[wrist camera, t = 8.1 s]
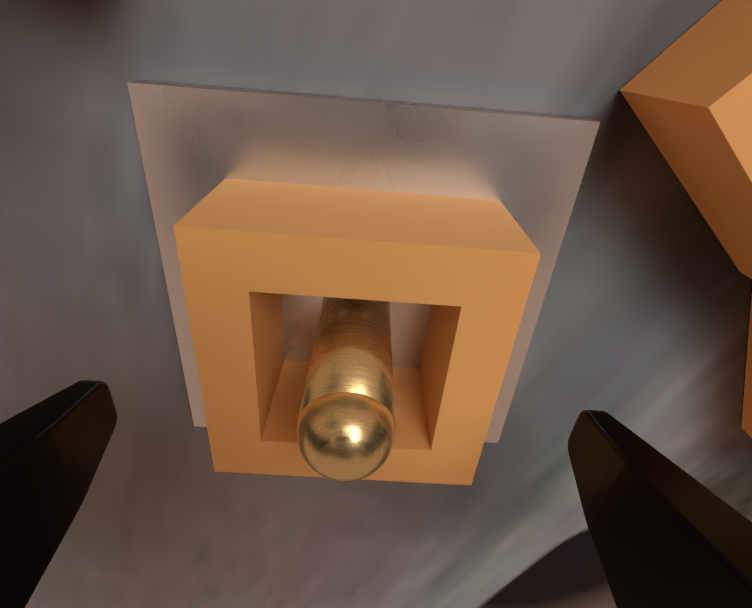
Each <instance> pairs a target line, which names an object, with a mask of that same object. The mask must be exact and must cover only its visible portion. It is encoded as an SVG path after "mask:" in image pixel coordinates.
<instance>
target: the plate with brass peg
mask: <svg viewBox="0 0 752 608" xmlns="http://www.w3.org/2000/svg"><path fill="white" fill-rule="evenodd" d="M127 84H128V89H129V94H130V99H131V105H132V110H133V115H134V120H135V125H136V130H137V135H138V141H139V146H140V151H141V156H142V161H143V166H144V171H145V176H146V182H147V187H148V192H149V197H150V202H151V207H152V212H153V218H154V223H155V228H156V233H157V238H158V243H159V248H160V253H161V259H162V264H163V269H164V274H165V279H166V284H167V289H168V295H169V300H170V305H171V310H172V315H173V320H174V325H175V330H176V336H177V341H178V346H179V351H180V356H181V361H182V366H183V372H184V377H185V382H186V387H187V392H188V397H189V402H190V408H191V413H192V418H193V423H194V426H198V427H207V424H206V418H205V412H204V406H203V400H202V394H201V388H200V382H199V376H198V370H197V364H196V359H195V353H194V347H193V341H192V335H191V329H190V323H189V317H188V311H187V305H186V299H185V293H184V287H183V281H182V275H181V269H180V263H179V257H178V251H177V245H176V239H175V233H174V227H173V225H174V224H175V223H177V222H178V221H179V220H180V219H181V218H182V217H183V216H184V215H185V214H187V213H188V212H189V211H190V210H191V209H192V208H193V207H194V206H196V205H197V204H198V203H199V202H200V201H201V200H202V199H203V198H204V197H206V196H207V195H208V194H209V193H210V192H211V191H212V190H213V189H214V188H216V187H217V186H218V185H219V184H220V183H221V182H222V181H223V180H224V179H238V180H250V181H263V182H275V183H288V184H300V185H312V186H325V187H337V188H350V189H362V190H375V191H387V192H400V193H412V194H424V195H437V196H449V197H462V198H474V199H487V200H499V201H501V203H502V204H503V205H504V206H505V208H506V209H507V210H508V212H509V213H510V214H511V215H512V217H513V218H514V219H515V221H516V222H517V223H518V224H519V226H520V227H521V228H522V230H523V231H524V232H525V233H526V235H527V236H528V237H529V239H530V240H531V241H532V242H533V244H534V245H535V246H536V248H537V249H538V250H539V251H540V253H541V255H540V259H539V262H538V265H537V269H536V272H535V275H534V279H533V282H532V285H531V289H530V292H529V295H528V299H527V302H526V305H525V308H524V312H523V315H522V318H521V322H520V325H519V328H518V332H517V335H516V338H515V342H514V345H513V348H512V352H511V355H510V358H509V362H508V365H507V368H506V372H505V375H504V378H503V382H502V385H501V388H500V392H499V395H498V398H497V402H496V405H495V408H494V411H493V415H492V418H491V421H490V425H489V428H488V431H487V435H486V438H485V441H484V442H491V443H498V442H499V439H500V436H501V432H502V429H503V426H504V423H505V420H506V417H507V414H508V410H509V407H510V404H511V401H512V398H513V395H514V392H515V388H516V385H517V382H518V379H519V376H520V373H521V370H522V367H523V363H524V360H525V357H526V354H527V351H528V348H529V345H530V341H531V338H532V335H533V332H534V329H535V326H536V323H537V319H538V316H539V313H540V310H541V307H542V304H543V301H544V298H545V294H546V291H547V288H548V285H549V282H550V279H551V276H552V272H553V269H554V266H555V263H556V260H557V257H558V254H559V250H560V247H561V244H562V241H563V238H564V235H565V232H566V229H567V225H568V222H569V219H570V216H571V213H572V210H573V207H574V203H575V200H576V197H577V194H578V191H579V188H580V185H581V181H582V178H583V175H584V172H585V169H586V166H587V163H588V160H589V156H590V153H591V150H592V147H593V144H594V141H595V138H596V134H597V131H598V128H599V125H600V122H599V121H596V120H593V119H591V118H585V117H573V116H561V115H549V114H537V113H525V112H513V111H501V110H490V109H478V108H466V107H454V106H442V105H430V104H418V103H406V102H394V101H382V100H371V99H359V98H347V97H335V96H323V95H311V94H299V93H287V92H275V91H264V90H252V89H240V88H228V87H216V86H204V85H192V84H180V83H168V82H156V81H145V80H139V81H132V82H127ZM430 308H431V304H418V303H404V302H390V301H376V300H361V299H347V298H333V297H319V296H305V295H290V294H282V310H283V338H284V360H289V361H305V362H310V364H309V369H308V374H307V379H306V383H305V388H304V393H303V398H302V403H301V407H300V412H299V417H298V422H297V441H298V446H299V449H300V451H301V454H302V456H303V458H304V459H305V461H306V462H307V463H308V465H309V466H310V467H311V468H312V469H313V470H314V471H315V472H317V473H318V474H320V475H321V476H323V477H325V478H327V479H330V480H333V481H338V482H352V481H357V480H360V479H363V478H366V477H368V476H369V475H371V474H373V473H374V472H375V471H377V470H378V469H379V468H380V467H381V466H382V465H383V464H384V462H385V461H386V459H387V458H388V456H389V455H390V452H391V450H392V448H393V444H394V440H395V430H396V425H395V405H394V384H393V367H398V368H414V369H420V367H421V361H422V355H423V349H424V343H425V337H426V332H427V326H428V320H429V314H430Z"/></svg>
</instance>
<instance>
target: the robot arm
mask: <svg viewBox="0 0 752 608" xmlns="http://www.w3.org/2000/svg"><path fill="white" fill-rule="evenodd" d="M116 422H117V412H116V409H115V406H114V403H113V399H112V396H111V393H110V390H109V387H108V385H107V384H106V383H105V382H102V381H89V380H83V381H79V382H77V383H75V384H73V385H71V386H69V387H67V388H65V389H64V390H62V391H60V392H58V393H56V394H54V395H52V396H51V397H49V398H47V399H45V400H43V401H41V402H39V403H38V404H36V405H34V406H32V407H30V408H28V409H26V410H25V411H23V412H21V413H19V414H17V415H15V416H13V417H12V418H10V419H8V420H6V421H4V422H2V423H1V424H0V608H25V606H26V604H27V603H28V601H29V599H30V597H31V595H32V594H33V592H34V590H35V588H36V586H37V585H38V583H39V581H40V579H41V577H42V576H43V574H44V572H45V570H46V568H47V566H48V565H49V563H50V561H51V559H52V557H53V556H54V554H55V552H56V550H57V548H58V547H59V545H60V543H61V541H62V539H63V538H64V536H65V534H66V532H67V530H68V528H69V527H70V525H71V523H72V521H73V519H74V518H75V516H76V514H77V512H78V510H79V508H80V506H81V504H82V502H83V500H84V498H85V496H86V494H87V491H88V489H89V487H90V485H91V482H92V480H93V477H94V475H95V473H96V470H97V468H98V466H99V463H100V461H101V459H102V456H103V454H104V452H105V449H106V447H107V445H108V442H109V440H110V438H111V435H112V433H113V431H114V428H115V425H116ZM568 452H569V456H570V460H571V464H572V468H573V472H574V476H575V480H576V484H577V488H578V491H579V495H580V499H581V503H582V507H583V511H584V515H585V519H586V522H587V526H588V529H589V532H590V535H591V538H592V541H593V543H594V546H595V549H596V552H597V554H598V557H599V560H600V563H601V565H602V568H603V571H604V573H605V576H606V579H607V582H608V584H609V587H610V590H611V592H612V595H613V598H614V601H615V603H616V606H617V608H752V522H751V521H750V520H748V519H747V518H746V517H744V516H743V515H742V514H740V513H739V512H738V511H736V510H735V509H734V508H732V507H731V506H730V505H728V504H727V503H726V502H725V501H723V500H722V499H721V498H719V497H718V496H717V495H715V494H714V493H713V492H711V491H710V490H709V489H707V488H706V487H705V486H703V485H702V484H701V483H699V482H698V481H697V480H695V479H694V478H693V477H691V476H690V475H689V474H688V473H686V472H685V471H684V470H682V469H681V468H680V467H678V466H677V465H676V464H674V463H673V462H672V461H670V460H669V459H668V458H666V457H665V456H664V455H662V454H661V453H660V452H658V451H657V450H656V449H654V448H653V447H652V446H651V445H649V444H648V443H647V442H645V441H644V440H643V439H641V438H640V437H639V436H637V435H636V434H635V433H633V432H632V431H631V430H629V429H628V428H627V427H625V426H624V425H623V424H621V423H620V422H619V421H617V420H616V419H615V418H614V417H612V416H611V415H610V414H608V413H607V412H604V411H598V410H583V411H582V412H581V413H580V414H579V416H578V418H577V421H576V423H575V425H574V427H573V430H572V432H571V434H570V437H569V440H568Z"/></svg>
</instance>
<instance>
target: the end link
mask: <svg viewBox="0 0 752 608" xmlns="http://www.w3.org/2000/svg"><path fill="white" fill-rule="evenodd" d="M173 227H174V233H175V239H176V245H177V251H178V257H179V263H180V269H181V275H182V281H183V287H184V293H185V299H186V305H187V311H188V317H189V323H190V329H191V335H192V341H193V347H194V353H195V359H196V364H197V370H198V376H199V382H200V388H201V394H202V400H203V406H204V412H205V418H206V424H207V430H208V436H209V442H210V448H211V454H212V460H213V466H214V472H230V473H249V474H267V475H286V476H305V477H323V476H321V475H320V474H318V473H317V472H315V471H314V470H313V469H312V468H311V467H310V466H309V465H308V463H307V462H306V461H305V459H304V458H303V456H302V454H301V451H300V449H299V446H298V441H297V422H298V417H299V412H300V407H301V403H302V398H303V393H304V388H305V383H306V379H307V374H308V369H309V364H310V362H305V361H289V360H284V338H283V310H282V294H290V295H305V296H319V297H333V298H347V299H361V300H376V301H390V302H404V303H418V304H431V308H430V314H429V320H428V326H427V332H426V337H425V343H424V349H423V355H422V361H421V367H420V369H414V368H398V367H393V384H394V405H395V425H396V430H395V440H394V444H393V448H392V450H391V452H390V455H389V456H388V458H387V459H386V461H385V462H384V464H383V465H382V466H381V467H380V468H379V469H378V470H377V471H375V472H374V473H373V474H371V475H369V476H368V477H366V478H363V479H361V480H379V481H398V482H417V483H435V484H454V485H472V481H473V478H474V475H475V471H476V468H477V465H478V461H479V458H480V455H481V451H482V448H483V445H484V441H485V438H486V435H487V431H488V428H489V425H490V421H491V418H492V415H493V411H494V408H495V405H496V402H497V398H498V395H499V392H500V388H501V385H502V382H503V378H504V375H505V372H506V368H507V365H508V362H509V358H510V355H511V352H512V348H513V345H514V342H515V338H516V335H517V332H518V328H519V325H520V322H521V318H522V315H523V312H524V308H525V305H526V302H527V299H528V295H529V292H530V289H531V285H532V282H533V279H534V275H535V272H536V269H537V265H538V262H539V259H540V255H541V253H540V251H539V250H538V249H537V248H536V246H535V245H534V244H533V242H532V241H531V240H530V239H529V237H528V236H527V235H526V233H525V232H524V231H523V230H522V228H521V227H520V226H519V224H518V223H517V222H516V221H515V219H514V218H513V217H512V215H511V214H510V213H509V212H508V210H507V209H506V208H505V206H504V205H503V204H502V203H501V201H499V200H487V199H474V198H462V197H449V196H437V195H424V194H412V193H400V192H387V191H375V190H362V189H350V188H337V187H325V186H312V185H300V184H288V183H275V182H263V181H250V180H238V179H224V180H223V181H222V182H221V183H220V184H219V185H218V186H217V187H216V188H214V189H213V190H212V191H211V192H210V193H209V194H208V195H207V196H206V197H204V198H203V199H202V200H201V201H200V202H199V203H198V204H197V205H196V206H194V207H193V208H192V209H191V210H190V211H189V212H188V213H187V214H185V215H184V216H183V217H182V218H181V219H180V220H179V221H178V222H177V223H175V224H174V225H173ZM323 478H325V477H323Z"/></svg>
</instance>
